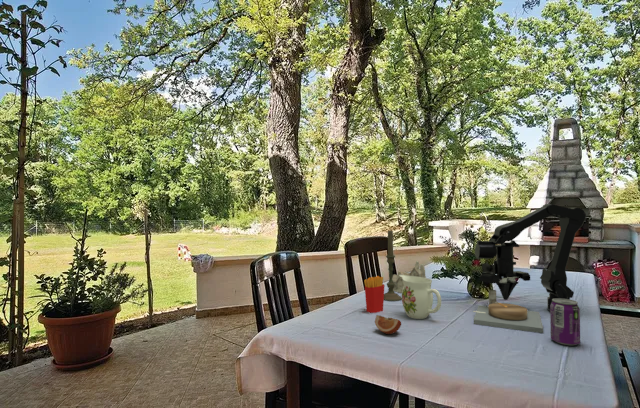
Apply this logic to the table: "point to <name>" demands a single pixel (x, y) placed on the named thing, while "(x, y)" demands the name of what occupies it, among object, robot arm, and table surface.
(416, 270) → the ceramic cottage
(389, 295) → the candlestick holder
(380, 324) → the fruit slice
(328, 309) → the table surface
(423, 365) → the table surface
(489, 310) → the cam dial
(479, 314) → the slate base
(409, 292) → the pitcher
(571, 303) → the beverage can
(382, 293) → the french fries
